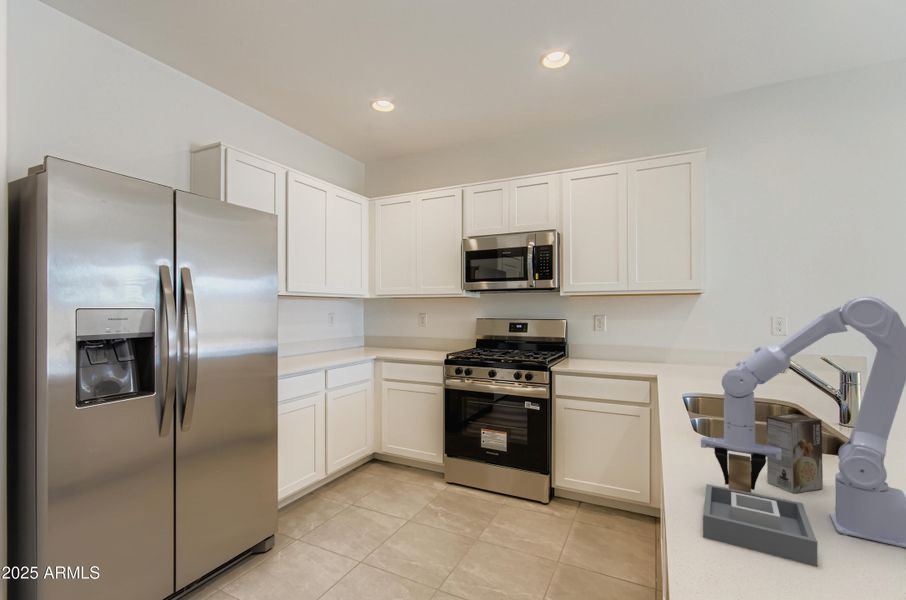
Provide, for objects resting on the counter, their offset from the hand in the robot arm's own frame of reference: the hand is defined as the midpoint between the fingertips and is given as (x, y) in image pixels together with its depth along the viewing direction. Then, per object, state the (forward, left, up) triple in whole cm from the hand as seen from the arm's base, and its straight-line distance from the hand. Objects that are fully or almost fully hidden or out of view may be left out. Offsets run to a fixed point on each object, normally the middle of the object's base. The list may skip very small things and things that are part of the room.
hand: (739, 485), depth 93 cm
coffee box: (-11, -15, -3) cm, 19 cm away
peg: (0, 0, -3) cm, 3 cm away
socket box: (-2, +14, -3) cm, 14 cm away
